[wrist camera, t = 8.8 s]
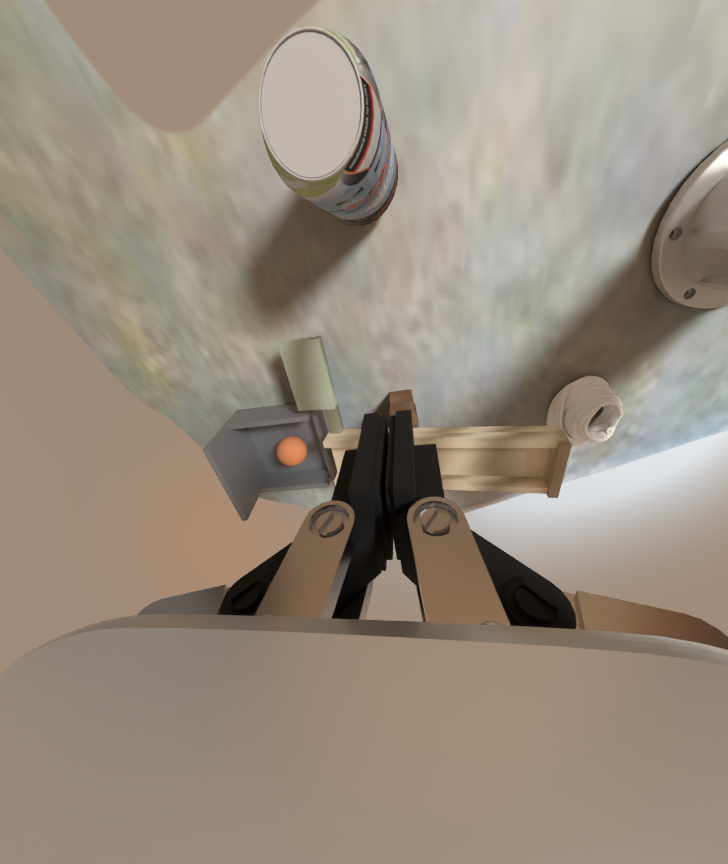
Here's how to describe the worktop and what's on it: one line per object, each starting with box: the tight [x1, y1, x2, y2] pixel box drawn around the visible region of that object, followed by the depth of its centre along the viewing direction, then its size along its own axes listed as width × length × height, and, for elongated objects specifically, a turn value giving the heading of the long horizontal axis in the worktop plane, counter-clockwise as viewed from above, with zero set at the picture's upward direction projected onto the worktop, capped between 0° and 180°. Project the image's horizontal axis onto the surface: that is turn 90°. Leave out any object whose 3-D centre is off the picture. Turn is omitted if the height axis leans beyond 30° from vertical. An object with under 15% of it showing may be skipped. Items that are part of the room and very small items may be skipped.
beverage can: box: [258, 27, 398, 226], centre depth 18 cm, size 6×7×12 cm
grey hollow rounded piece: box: [546, 376, 623, 445], centre depth 31 cm, size 8×7×5 cm
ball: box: [276, 436, 307, 466], centre depth 35 cm, size 4×4×4 cm
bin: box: [203, 403, 337, 521], centre depth 34 cm, size 10×10×8 cm
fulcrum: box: [389, 390, 418, 428], centre depth 33 cm, size 3×10×5 cm, turn 9°
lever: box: [277, 336, 572, 498], centre depth 28 cm, size 24×17×4 cm
